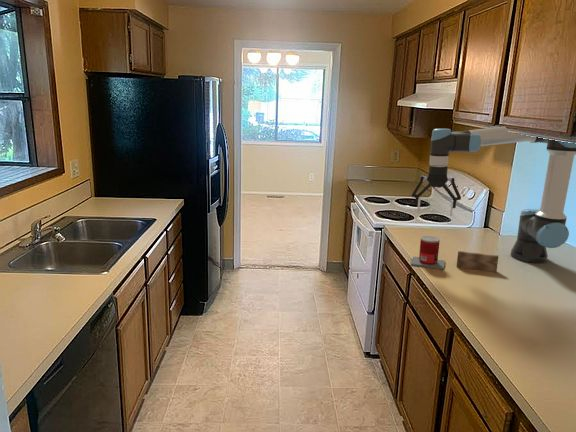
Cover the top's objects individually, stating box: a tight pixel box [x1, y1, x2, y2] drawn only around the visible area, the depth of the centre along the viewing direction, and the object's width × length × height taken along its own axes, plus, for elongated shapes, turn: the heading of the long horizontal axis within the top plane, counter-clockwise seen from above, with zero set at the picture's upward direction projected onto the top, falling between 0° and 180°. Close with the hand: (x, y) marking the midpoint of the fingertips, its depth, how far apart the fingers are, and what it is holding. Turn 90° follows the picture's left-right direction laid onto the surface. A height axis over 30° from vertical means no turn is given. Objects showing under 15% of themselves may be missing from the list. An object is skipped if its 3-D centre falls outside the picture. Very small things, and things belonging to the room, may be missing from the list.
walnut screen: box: [456, 250, 499, 273], centre depth 188 cm, size 16×2×7 cm, turn 68°
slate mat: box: [410, 256, 446, 270], centre depth 195 cm, size 14×10×1 cm
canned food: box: [418, 235, 441, 265], centre depth 194 cm, size 8×8×11 cm
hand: (434, 214), depth 190 cm, fingers open, 13 cm apart
